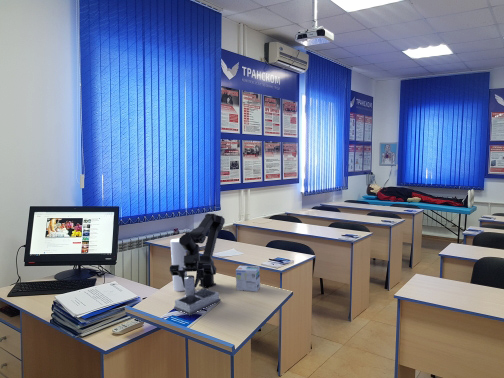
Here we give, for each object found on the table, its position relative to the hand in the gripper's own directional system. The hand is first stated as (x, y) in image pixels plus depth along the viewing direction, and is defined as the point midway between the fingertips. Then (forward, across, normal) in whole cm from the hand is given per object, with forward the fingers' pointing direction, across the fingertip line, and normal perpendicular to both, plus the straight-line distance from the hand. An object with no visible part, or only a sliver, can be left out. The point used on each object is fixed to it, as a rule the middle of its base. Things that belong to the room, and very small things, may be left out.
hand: (189, 287), depth 164 cm
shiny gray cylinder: (+5, 0, +5) cm, 7 cm away
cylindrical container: (-9, -9, +23) cm, 27 cm away
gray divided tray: (+5, +2, +9) cm, 10 cm away
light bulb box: (-8, +25, +22) cm, 34 cm away
